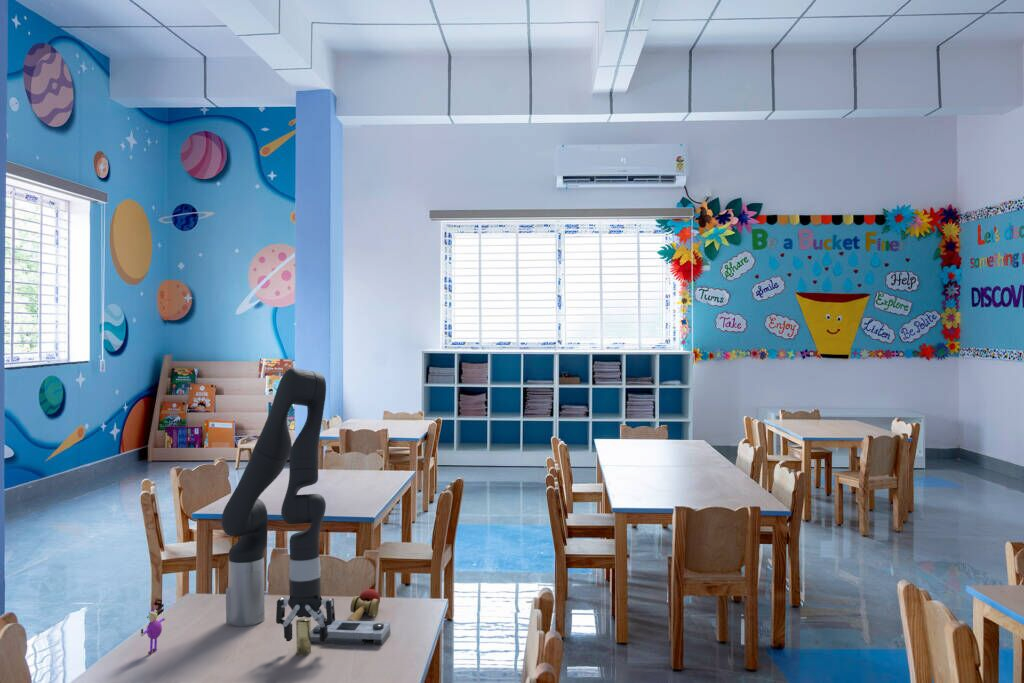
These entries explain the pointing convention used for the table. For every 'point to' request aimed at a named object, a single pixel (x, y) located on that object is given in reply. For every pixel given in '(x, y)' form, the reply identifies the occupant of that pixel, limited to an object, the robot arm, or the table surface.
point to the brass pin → (303, 636)
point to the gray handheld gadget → (353, 632)
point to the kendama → (365, 604)
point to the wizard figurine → (153, 627)
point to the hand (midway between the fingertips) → (306, 640)
